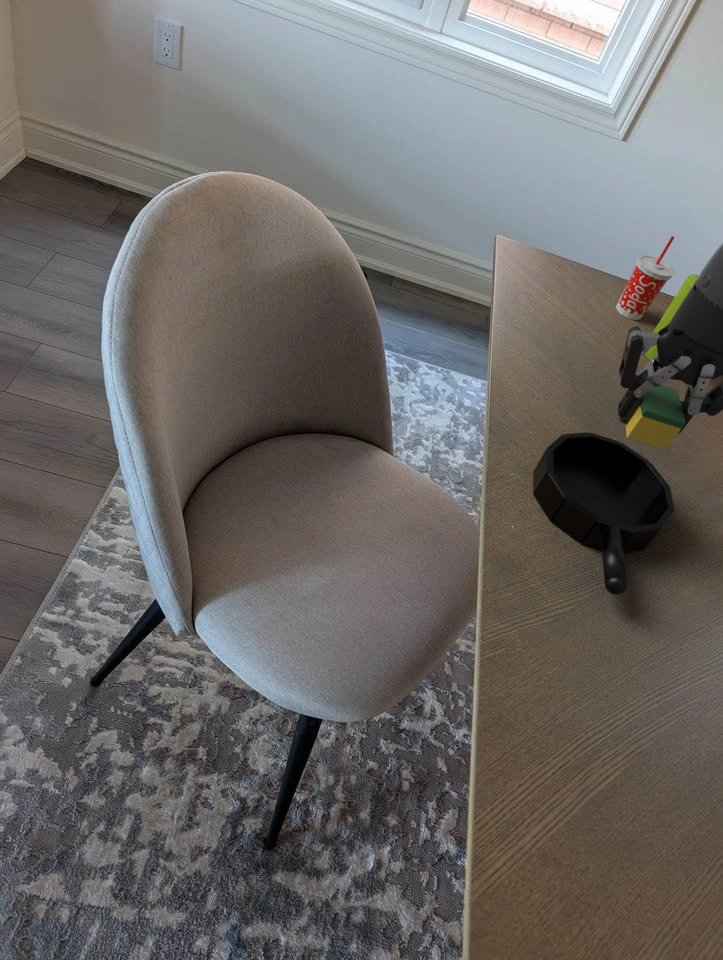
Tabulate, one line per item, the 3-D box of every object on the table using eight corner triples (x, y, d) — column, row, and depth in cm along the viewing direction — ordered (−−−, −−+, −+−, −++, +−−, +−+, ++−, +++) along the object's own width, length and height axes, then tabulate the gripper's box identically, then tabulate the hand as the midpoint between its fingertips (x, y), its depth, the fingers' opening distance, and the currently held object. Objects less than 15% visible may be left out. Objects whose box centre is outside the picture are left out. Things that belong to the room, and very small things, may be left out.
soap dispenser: (635, 356, 117) (708, 240, 103) (648, 340, 122) (719, 228, 108) (669, 376, 116) (747, 261, 102) (681, 359, 120) (757, 247, 107)
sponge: (622, 404, 85) (640, 377, 82) (659, 416, 85) (678, 389, 83) (626, 438, 81) (645, 410, 78) (665, 450, 81) (685, 423, 78)
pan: (533, 441, 96) (546, 417, 93) (648, 477, 96) (664, 454, 94) (532, 587, 78) (549, 564, 76) (672, 630, 79) (694, 608, 76)
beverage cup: (605, 305, 127) (647, 229, 117) (623, 298, 130) (666, 224, 121) (634, 326, 124) (680, 250, 114) (652, 317, 128) (698, 243, 118)
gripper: (796, 297, 74) (699, 424, 86) (661, 251, 73) (581, 386, 85) (816, 338, 69) (710, 467, 81) (670, 289, 68) (584, 427, 80)
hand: (644, 424), depth 83 cm, fingers closed on sponge, 4 cm apart
